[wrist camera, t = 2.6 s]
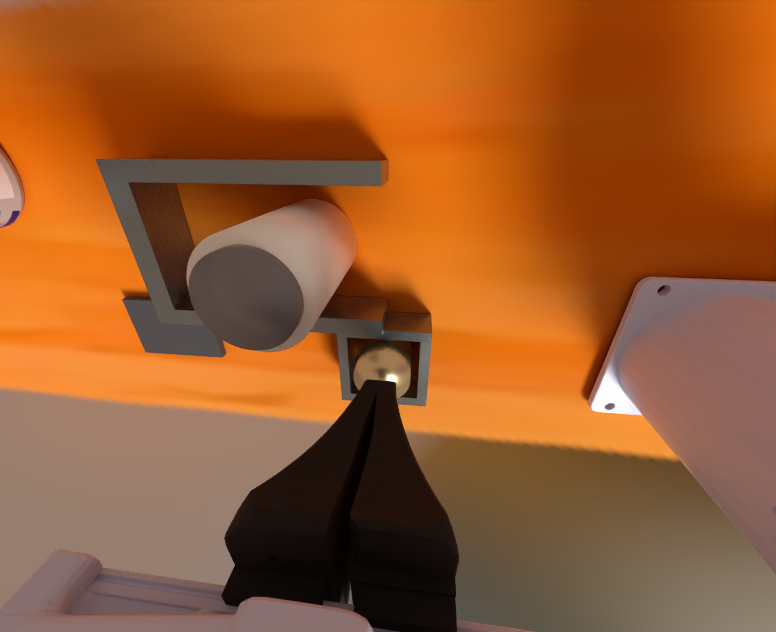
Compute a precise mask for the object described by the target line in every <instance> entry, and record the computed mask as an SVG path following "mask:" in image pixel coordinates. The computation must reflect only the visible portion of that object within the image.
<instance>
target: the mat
mask: <svg viewBox="0 0 776 632" xmlns="http://www.w3.org/2000/svg"><path fill="white" fill-rule="evenodd" d="M122 300H123V302H124V305H125V307H126V309H127V311H128V314H129V316H130V318H131V320H132V322H133V325H134V327H135V329H136V331H137V334H138V336H139V338H140V340H141V343H142V345H143V347H144V349H145V352H149V353H164V354H178V355H193V356H207V357H223V356H224V355H225V354H226V352H225V349H224V345H223V342H222V339H221V338H219V337H218V336H216V335H215V334H214V333H213V332H211V331H210V330H209V329H208V328H207V327H206V326H201V325H184V324H167V323H160V320H159V318H158V315H157V313H156V310H155V308H154V305H153V303H152V300H151V298H146V297H126V298H124V299H122Z"/></svg>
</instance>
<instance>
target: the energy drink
mask: <svg viewBox="0 0 776 632" xmlns="http://www.w3.org/2000/svg"><path fill="white" fill-rule="evenodd" d="M24 203H25V199H24V190H23V185H22V182H21V180H20V177H19V174H18V173H17V171H16V169H15V167H14V165H13V163H12V162H11V161H10V159H9V158H8V156H7V155H6V153H5V152H4V151H3V150H2V149H1V148H0V228H1V227H5V226H8V225H11V224H12V223H14V222H15V221H16V220H17V219H18V217H19V216H20V214H21V212H22V210H23V207H24Z"/></svg>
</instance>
